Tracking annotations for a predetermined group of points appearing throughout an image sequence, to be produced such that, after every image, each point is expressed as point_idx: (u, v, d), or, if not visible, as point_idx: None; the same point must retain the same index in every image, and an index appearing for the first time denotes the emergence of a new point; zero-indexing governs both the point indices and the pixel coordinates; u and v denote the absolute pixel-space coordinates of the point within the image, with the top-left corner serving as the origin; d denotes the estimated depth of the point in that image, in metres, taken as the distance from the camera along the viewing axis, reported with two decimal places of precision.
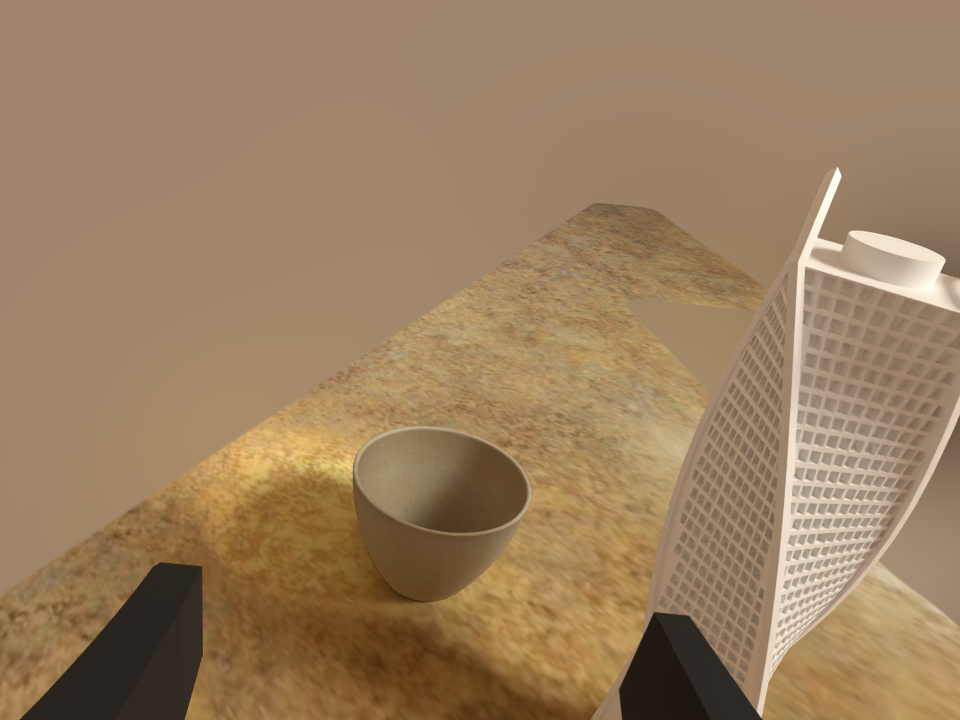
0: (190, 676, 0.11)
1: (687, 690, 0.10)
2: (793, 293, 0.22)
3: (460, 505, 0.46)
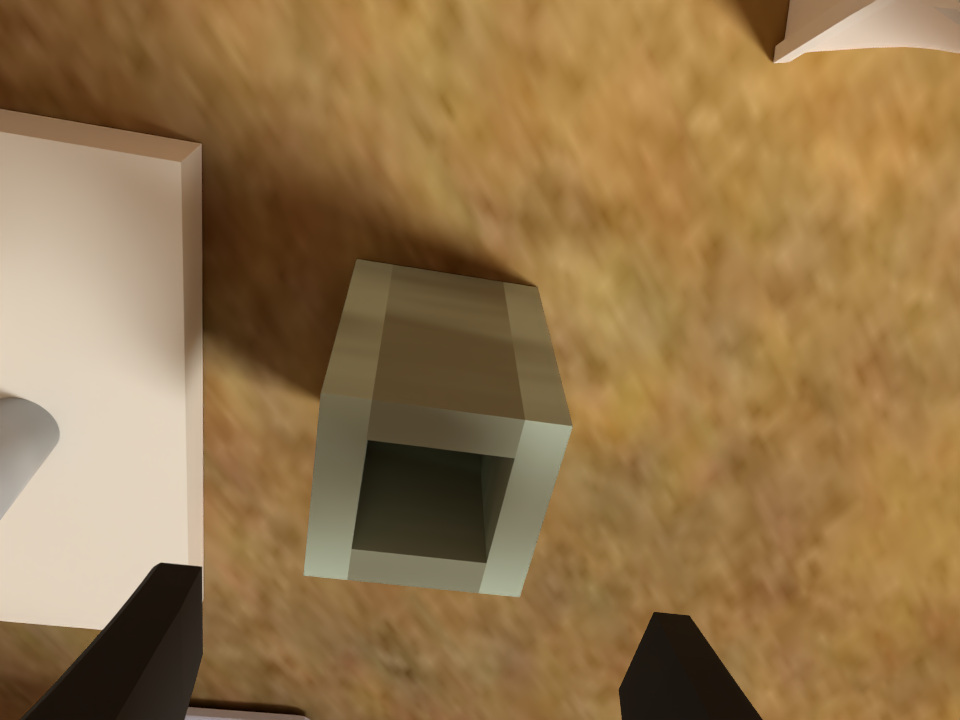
0: (190, 676, 0.11)
1: (687, 690, 0.10)
2: None
3: None
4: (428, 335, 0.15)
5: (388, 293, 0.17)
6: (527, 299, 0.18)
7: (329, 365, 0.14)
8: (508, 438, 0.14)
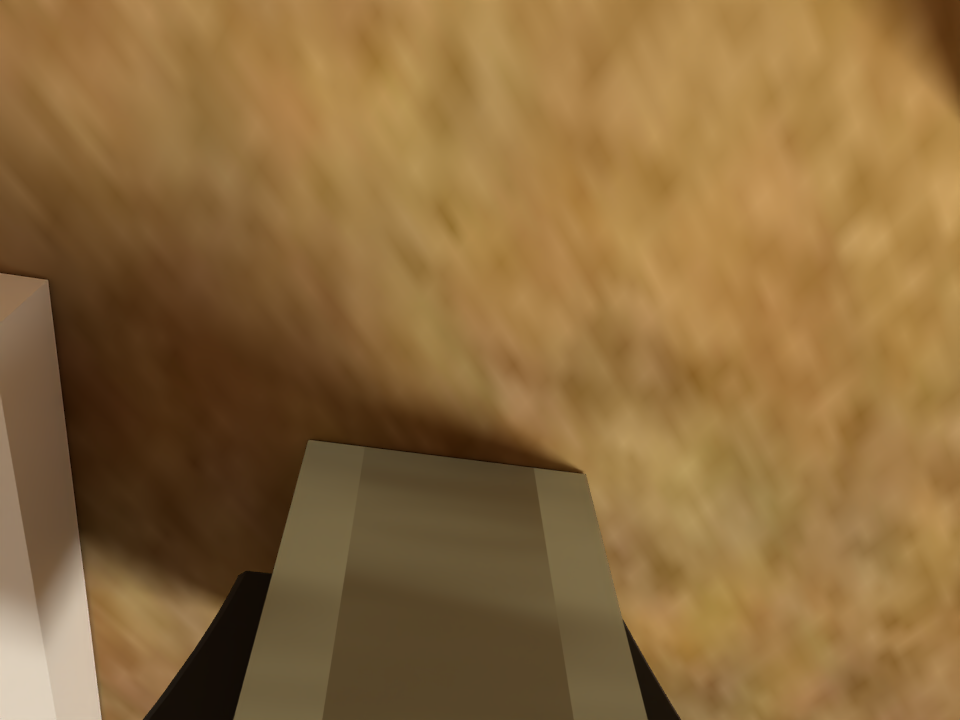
0: None
1: None
2: None
3: None
4: (416, 622, 0.09)
5: (353, 518, 0.10)
6: (572, 506, 0.11)
7: None
8: None
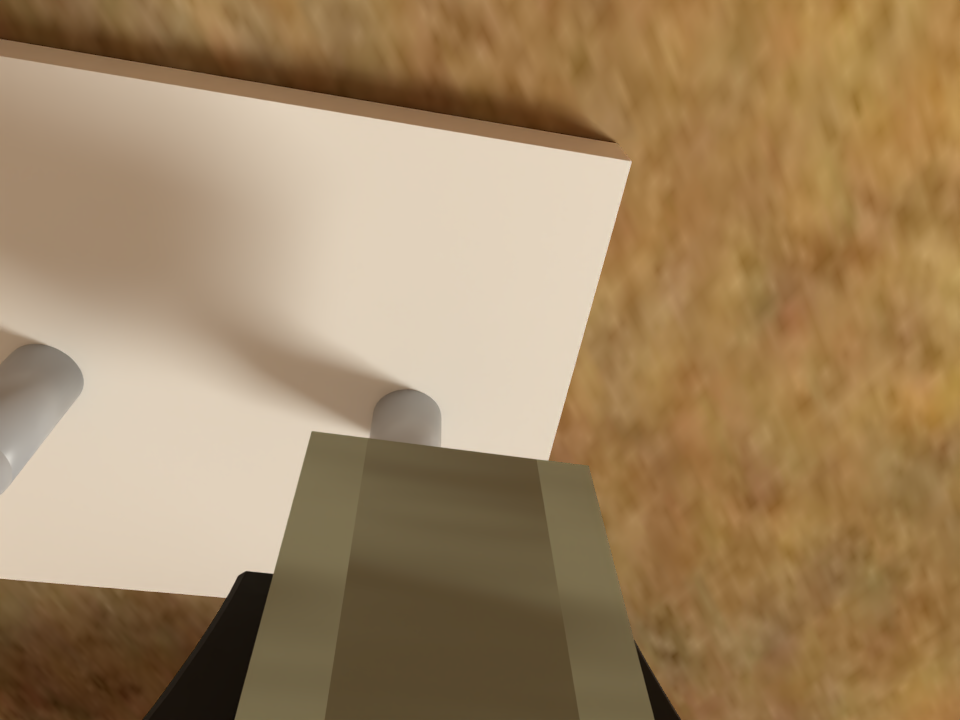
0: None
1: None
2: None
3: None
4: (419, 610, 0.09)
5: (356, 508, 0.10)
6: (575, 497, 0.11)
7: None
8: None
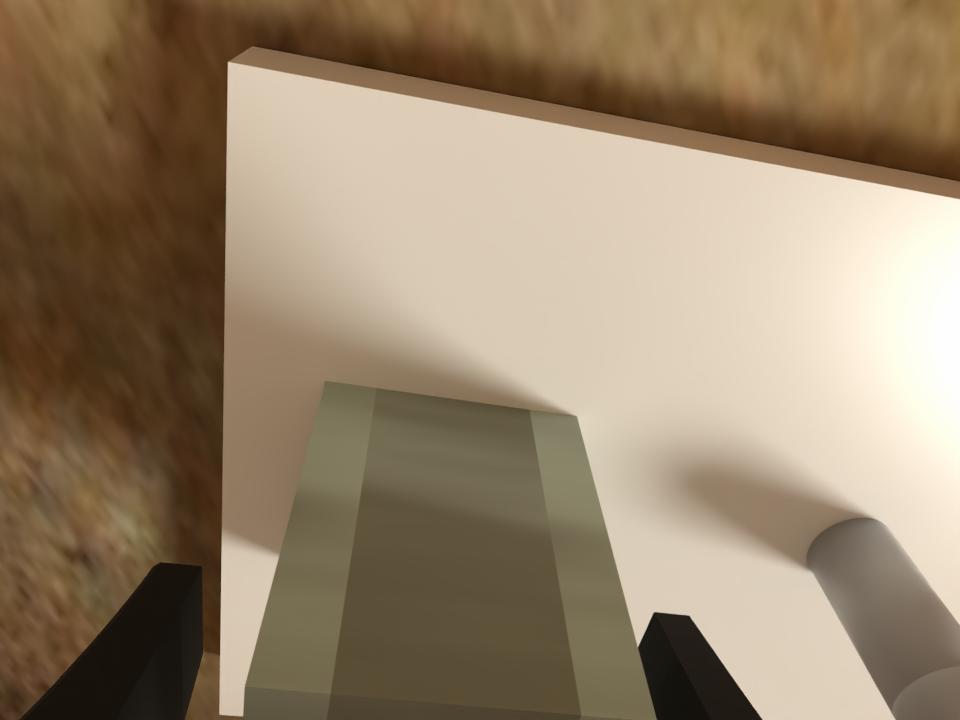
0: (190, 676, 0.11)
1: (687, 690, 0.10)
2: None
3: None
4: (424, 527, 0.10)
5: (367, 445, 0.12)
6: (563, 441, 0.13)
7: (265, 614, 0.09)
8: None
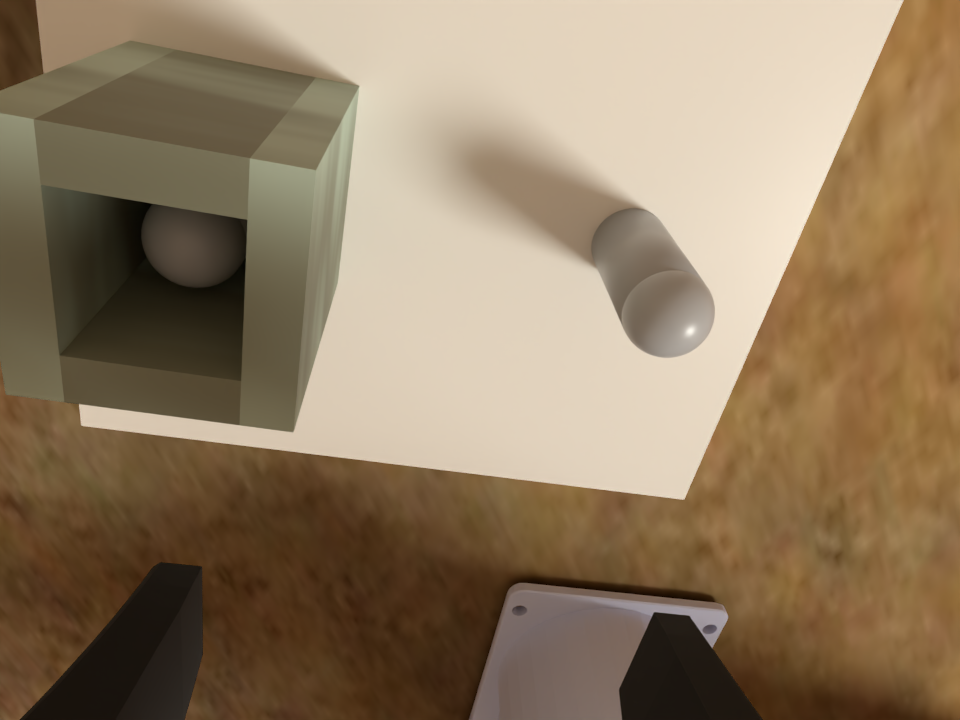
0: (190, 676, 0.11)
1: (687, 690, 0.10)
2: None
3: None
4: (172, 92, 0.12)
5: (147, 63, 0.13)
6: (336, 90, 0.15)
7: None
8: (232, 187, 0.10)
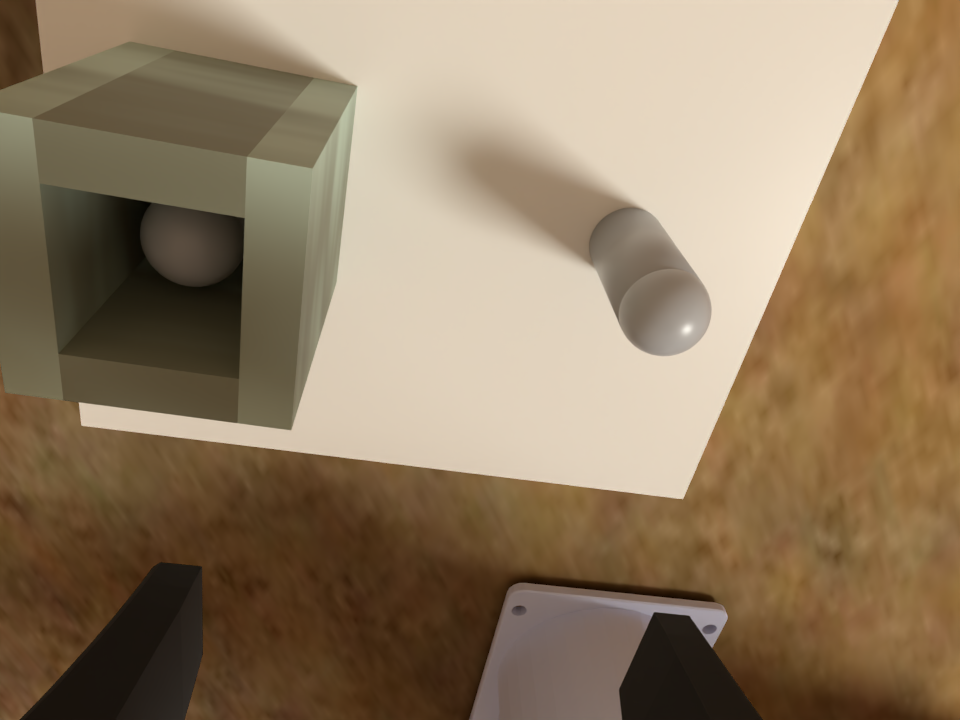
0: (190, 676, 0.11)
1: (687, 690, 0.10)
2: None
3: None
4: (171, 92, 0.12)
5: (146, 63, 0.13)
6: (335, 90, 0.15)
7: None
8: (229, 185, 0.10)
